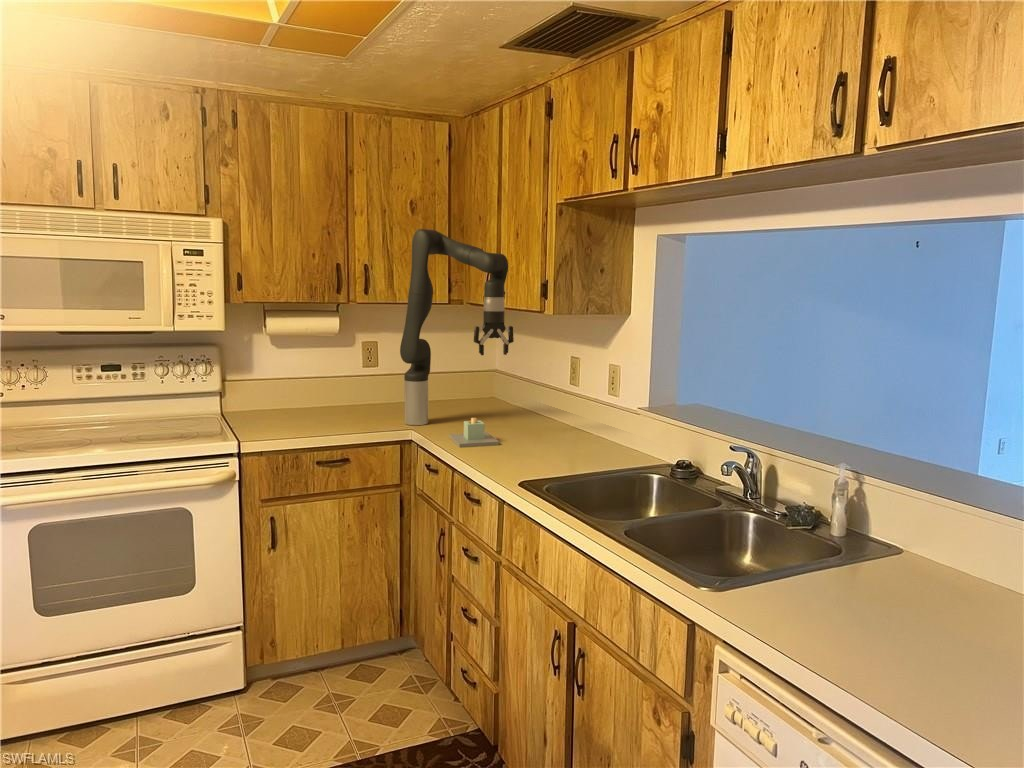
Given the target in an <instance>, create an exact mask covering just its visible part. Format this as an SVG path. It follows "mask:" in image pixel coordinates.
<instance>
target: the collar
mask: <svg viewBox="0 0 1024 768" xmlns="http://www.w3.org/2000/svg"><path fill="white" fill-rule="evenodd" d="M485 432H486V430H485V423H484V422H483V421H482V420H477V423H476V424H471V420H464V421H463V433H464V437H465V438H466V439H467V440H478V439H485Z"/></svg>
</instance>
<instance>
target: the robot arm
mask: <svg viewBox="0 0 1024 768" xmlns="http://www.w3.org/2000/svg"><path fill="white" fill-rule="evenodd" d="M430 255H440V256H441V255H443V256H448V257H451V258H452V259H454V260H456V261H457V262H458V263H462V264H465V265H466V266H470V267H472V268H473V267H474V268H476V269H478V270H479V271H482V272H484V273H487V274H490V278H489V280H486V281H485V282H484V288H483V289H484V290H483V292H484V297H483V317H482V319H483V322H482V323H483V324H482V326H477V325H476V326H474V330H473V343H474V344H478V353H479V354H480V356H484V355H485V345H484V343H485V342H486V341H487V340H488V339H500V340H501V341H502V343H503V346H502V347H503V348H502V349H503V350H502V352H503V355H504V356H507V355H508V353H509V344H512V343H514V326H512V325H508V326H505V325H506V324H505V311H506V309H505V308H506V306H505V305H506V304H505V283H506V279H507V275H508V272H509V261H508V258H507V256H506V255H505V254H503V253H500V252H499V253H496V252H495V253H494V252H487V251H485V250H483V249H482V248H479V247H477V246H474V245H472V244H468V243H464V242H460V241H457V240H454V239H452V238H450V237H448V236H447V235H445V234H444V233H441V232H440V231H438V230H435V229H428V228H427V229H426V228H418V229H417V230H416V231H415V232H414V234H413V237H412V241H411V268H410V269H411V270H410V278H409V280H410V281H409V289H408V297H407V308H406V314H405V323H404V328H403V332H402V333H403V334H402V338H401V343H400V345H399V346H400V348H399V354H400V357H401V360H402V361H403V362H404V363H405V364H409V365H410V367H409V369H408V370H407V371H405V373H404V376H403V377H404V381H403V382H404V424H405V425H407V426H408V425H409V426H410V425H411V426H423V425H428V424H429V375H430V372H431V360H432V358H431V357H432V351H431V347H430V344H429V342H428V340H426V339H425V338H420V335H421V329H422V327H423V325H424V323H425V321H426V319H427V318H428V316H429V313H430V312H431V309H432V307H433V306H432V305H433V298H434V287H433V284H432V281H431V277H430V274H429V268H428V265H429V264H428V263H429V256H430ZM482 331H483V334H482V336H481V337H480V333H481V332H482ZM505 331H506V332H507V334H508V335H507V336H508V339H507V338H506V336H505V335H504V332H505ZM479 338H480V339H479Z"/></svg>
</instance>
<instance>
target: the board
mask: <svg viewBox="0 0 1024 768" xmlns="http://www.w3.org/2000/svg"><path fill="white" fill-rule="evenodd" d="M470 421H471V424H476V423H477V421H478V418H477V417H471V418H470ZM449 438H450V439H451V440H452V441H453V442H454V444H455V445H457V446H458V447H459V448H473V447H487V446H489V447H490V446H499V445H500V441H499V440H498V439H496V438H495V436H493V435H492V434H490V432H488V431H485V439H478V440H467V439H466V438H465V437H464V432H463V433H462V432H461V433H450V434H449Z"/></svg>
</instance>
